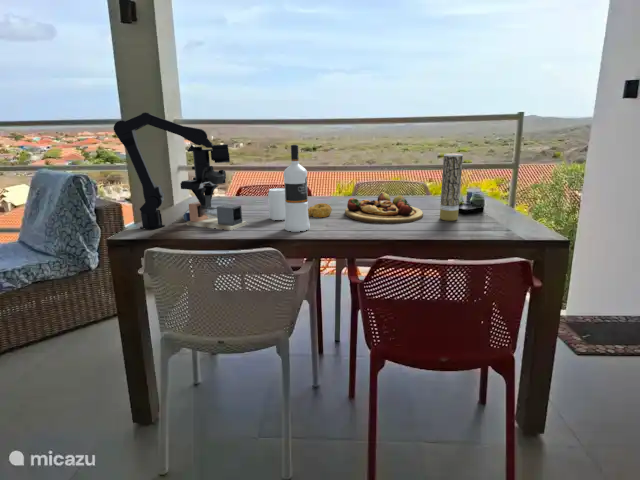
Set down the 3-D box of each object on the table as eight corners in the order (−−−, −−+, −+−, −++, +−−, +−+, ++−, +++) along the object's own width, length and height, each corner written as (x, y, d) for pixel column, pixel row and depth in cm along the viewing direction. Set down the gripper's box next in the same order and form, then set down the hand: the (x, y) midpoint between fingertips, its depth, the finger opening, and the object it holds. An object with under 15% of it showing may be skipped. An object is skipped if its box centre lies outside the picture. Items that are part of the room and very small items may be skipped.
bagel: (305, 213, 175) (304, 202, 173) (330, 212, 176) (330, 201, 174) (306, 218, 165) (306, 207, 164) (333, 218, 166) (333, 206, 165)
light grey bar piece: (180, 212, 163) (199, 193, 185) (183, 227, 165) (201, 207, 188) (193, 212, 162) (211, 193, 185) (196, 227, 165) (213, 207, 188)
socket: (207, 218, 162) (206, 201, 160) (197, 221, 157) (195, 204, 155) (201, 217, 164) (199, 201, 162) (190, 221, 158) (188, 203, 157)
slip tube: (230, 216, 155) (229, 196, 153) (224, 218, 152) (222, 198, 150) (199, 213, 162) (197, 194, 160) (193, 215, 159) (191, 195, 156)
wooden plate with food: (338, 222, 159) (338, 201, 156) (351, 205, 188) (352, 188, 186) (422, 228, 151) (424, 206, 149) (423, 209, 181) (424, 191, 179)
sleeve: (242, 222, 155) (241, 205, 153) (233, 225, 150) (231, 208, 148) (227, 220, 158) (226, 204, 156) (218, 224, 153) (216, 206, 151)
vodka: (289, 225, 154) (286, 144, 145) (313, 227, 151) (311, 143, 143) (280, 232, 145) (277, 145, 137) (305, 233, 143) (303, 145, 134)
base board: (247, 224, 157) (246, 221, 156) (230, 230, 148) (230, 227, 148) (204, 219, 166) (204, 216, 165) (186, 225, 157) (186, 222, 157)
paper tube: (458, 221, 156) (464, 154, 149) (440, 221, 157) (444, 154, 150) (456, 217, 162) (461, 153, 155) (438, 217, 163) (443, 153, 157)
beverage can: (265, 220, 163) (263, 190, 160) (276, 216, 170) (275, 187, 167) (282, 222, 160) (281, 191, 156) (293, 217, 167) (292, 188, 163)
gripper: (201, 166, 141) (205, 211, 145) (234, 161, 157) (237, 201, 161) (177, 165, 146) (182, 208, 150) (212, 161, 162) (215, 200, 166)
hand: (205, 204), depth 157 cm, fingers closed on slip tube, 3 cm apart
